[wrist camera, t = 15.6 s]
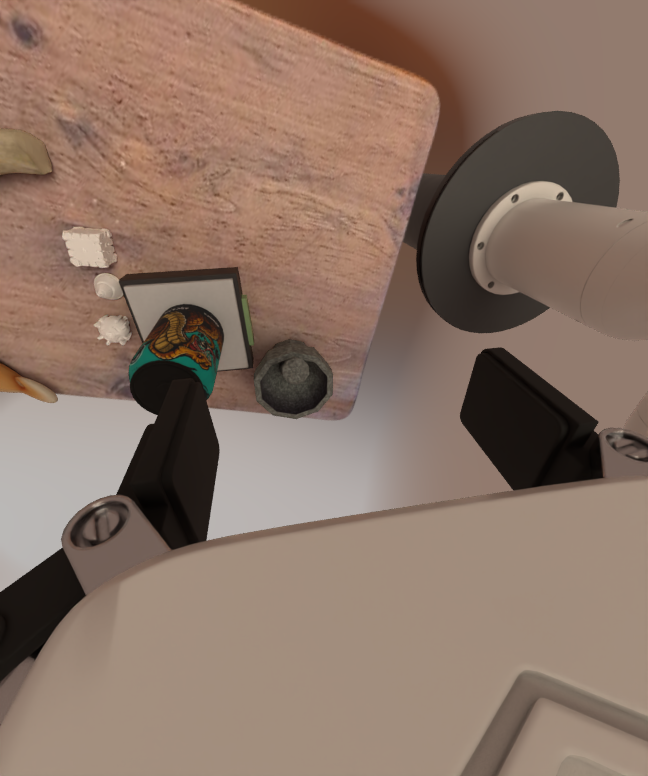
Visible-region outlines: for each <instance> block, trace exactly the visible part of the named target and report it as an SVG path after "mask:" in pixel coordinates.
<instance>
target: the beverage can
mask: <svg viewBox="0 0 648 776" xmlns="http://www.w3.org/2000/svg"><path fill="white" fill-rule="evenodd" d="M223 343H224V332H223V328H222V326H221V324H220V322H219V321H218V319H217V318H216V317H215V316H214V315H213V314H212V313H211V312H209V311H208V310H206V309H204V308H202V307H200V306H196V305H192V304H180V305H176V306H173V307H171V308H169V309H168V310H166V311H165V312H164V313H163V314H162V316H161V317H160V318H159V320H158V321H157V323H156V324H155V326H154V327H153V329H152V330H151V332H150V333H149V335H148V336H147V338H146V339H145V341H144V342H143V344H142V345H141V347H140V348H139V350H138V351H137V353H136V354H135V356H134V357H133V359H132V361H131V363H130V366H129V380H130V390H131V393H132V395H133V398H134V399H135V400H136V402H137V403H138V404H139V405H140V406H141V407H143V408H144V409H146V410H147V411H149V412H151V413H153V414H156V415H158V414H159V411H160V409H161V406H162V404H163V402H164V399H165V397H166V394H167V392H168V390H169V387H170V385H171V382H172V381H173V380H179V379H189V378H192V379H193V380H194V381H195V382H200V383H201V385H202V389H203V392H204V395H205V399H206V400H207V399H208V398H209V396H210V395H211V393H212V391H213V387H214V383H215V379H216V374H217V370H218V365H219V361H220V356H221V352H222V347H223Z"/></svg>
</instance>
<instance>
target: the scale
mask: <svg viewBox="0 0 648 776" xmlns="http://www.w3.org/2000/svg"><path fill="white" fill-rule="evenodd" d="M119 284H120V287H121V289H122V292H123V294H124V297H125V299H126V302H127V305H128V307H129V310H130V312H131V315H132V317H133V320H134V323H135V325H136V328H137V330H138V333H139V335H140V338H141V341H142V343H143V342H144V341H145V339H146V338H147V336H148V335H149V333H150V332H151V330H152V329H153V327H154V326H155V324H156V323H157V321H158V320H159V318H160V317H161V316H162V314H163V313H164V312H165V311H166V310H168V309H169V308H171V307H173V306H176V305H180V304H192V305H196V306H200V307H202V308H204V309H206V310H208V311H209V312H211V313H212V314H213V315H214V316H215V317H216V318H217V319H218V321H219V322H220V324H221V326H222V328H223V332H224V343H223V347H222V352H221V356H220V361H219V365H218V370H217V372H218V371H228V370H239V369H249V368H253V353H252V347H251V345H254V336H253V330H252V324H251V318H250V311H249V305H248V299H247V295H242V289H241V283H240V277H239V271H238V267H234V268H218V269H202V270H186V271H170V272H154V273H138V274H126V275H125V276H124V277H123V278H121V279H120V280H119Z"/></svg>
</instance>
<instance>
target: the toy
mask: <svg viewBox="0 0 648 776" xmlns="http://www.w3.org/2000/svg"><path fill="white" fill-rule="evenodd" d="M0 392H13V393H18V392H19V393H25V394H27V395H29V396H31V397H33V398H36V399H38V400H41V401H44V402H48V403H55V402H57V401H58V398H57V396H56V394H55V393H54V392H53V391H52V390H50V389H49V388H47V387H46V386H44V385H42V384H40V383H38V382H36V381H34V380H31V379H29V378H25V377H21V376H20V375H19V374H18V373H16V372H15V371H13V370H12V369H10V368H8V367H7V366H5V365H3V364H1V363H0Z"/></svg>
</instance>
